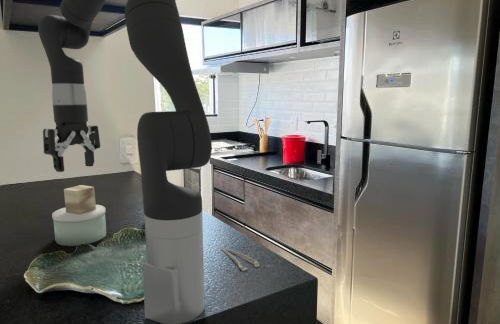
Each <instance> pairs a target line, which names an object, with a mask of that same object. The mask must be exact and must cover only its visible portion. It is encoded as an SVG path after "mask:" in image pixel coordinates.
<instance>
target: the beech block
mask: <svg viewBox="0 0 500 324" xmlns="http://www.w3.org/2000/svg"><path fill="white" fill-rule="evenodd" d="M63 194H64V205H65V207H64V208H66V212H68V213H73V214H78V215H81V214H84V213H87V212H90V211H93V210H96V205H97V204H96V193H95V186H90V185H84V184H79V185H76V186H71V187H67V188H64V189H63Z"/></svg>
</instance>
